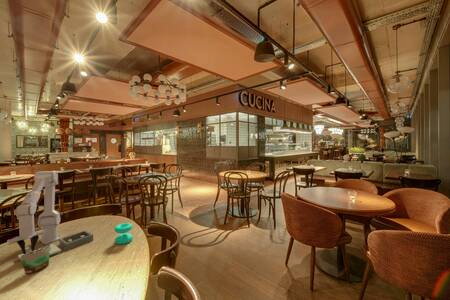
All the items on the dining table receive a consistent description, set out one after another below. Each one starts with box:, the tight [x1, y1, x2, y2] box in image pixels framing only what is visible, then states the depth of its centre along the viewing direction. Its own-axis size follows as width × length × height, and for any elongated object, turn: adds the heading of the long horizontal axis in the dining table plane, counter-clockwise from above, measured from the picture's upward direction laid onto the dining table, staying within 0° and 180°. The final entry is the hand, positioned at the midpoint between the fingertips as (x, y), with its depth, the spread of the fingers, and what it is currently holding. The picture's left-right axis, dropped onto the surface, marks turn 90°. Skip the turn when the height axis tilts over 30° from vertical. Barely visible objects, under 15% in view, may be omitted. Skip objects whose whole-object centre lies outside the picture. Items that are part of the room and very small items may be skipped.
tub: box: [58, 230, 94, 251], centre depth 127 cm, size 11×14×4 cm
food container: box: [20, 243, 51, 275], centre depth 101 cm, size 12×6×10 cm, turn 168°
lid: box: [17, 243, 62, 263], centre depth 112 cm, size 12×15×6 cm
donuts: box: [114, 222, 134, 245], centre depth 128 cm, size 10×10×10 cm
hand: (28, 252), depth 108 cm, fingers open, 3 cm apart
